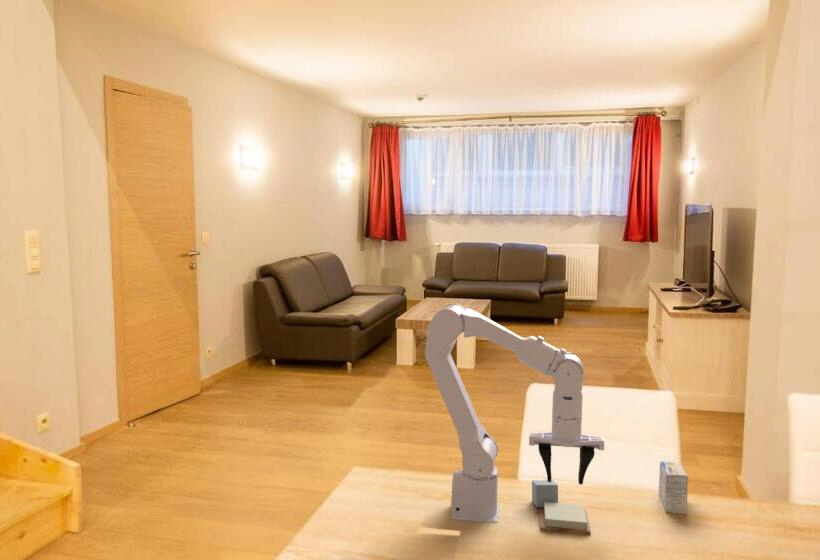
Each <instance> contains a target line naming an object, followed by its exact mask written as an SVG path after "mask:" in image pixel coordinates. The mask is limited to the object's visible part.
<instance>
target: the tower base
mask: <svg viewBox="0 0 820 560" xmlns="http://www.w3.org/2000/svg"><path fill="white" fill-rule="evenodd" d="M538 509H539V512H538V513H539V527H540V529H539V530H540V531H541V532H550V533H562V534H563V533H564V534H575V535H584V536H585V535H587V536H591V526H590V523H589V522H590V521H589V518H588V513H587V510H586V509H585V513H586V518H587V530H582V529H571V528H560V527H549V526H545V517H544V507H538Z"/></svg>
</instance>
